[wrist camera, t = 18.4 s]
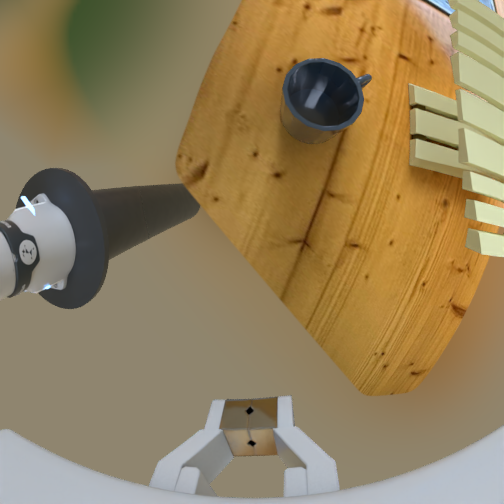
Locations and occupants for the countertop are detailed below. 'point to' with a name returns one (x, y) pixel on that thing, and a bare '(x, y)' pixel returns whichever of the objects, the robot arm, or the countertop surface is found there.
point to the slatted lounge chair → (468, 119)
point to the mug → (320, 100)
